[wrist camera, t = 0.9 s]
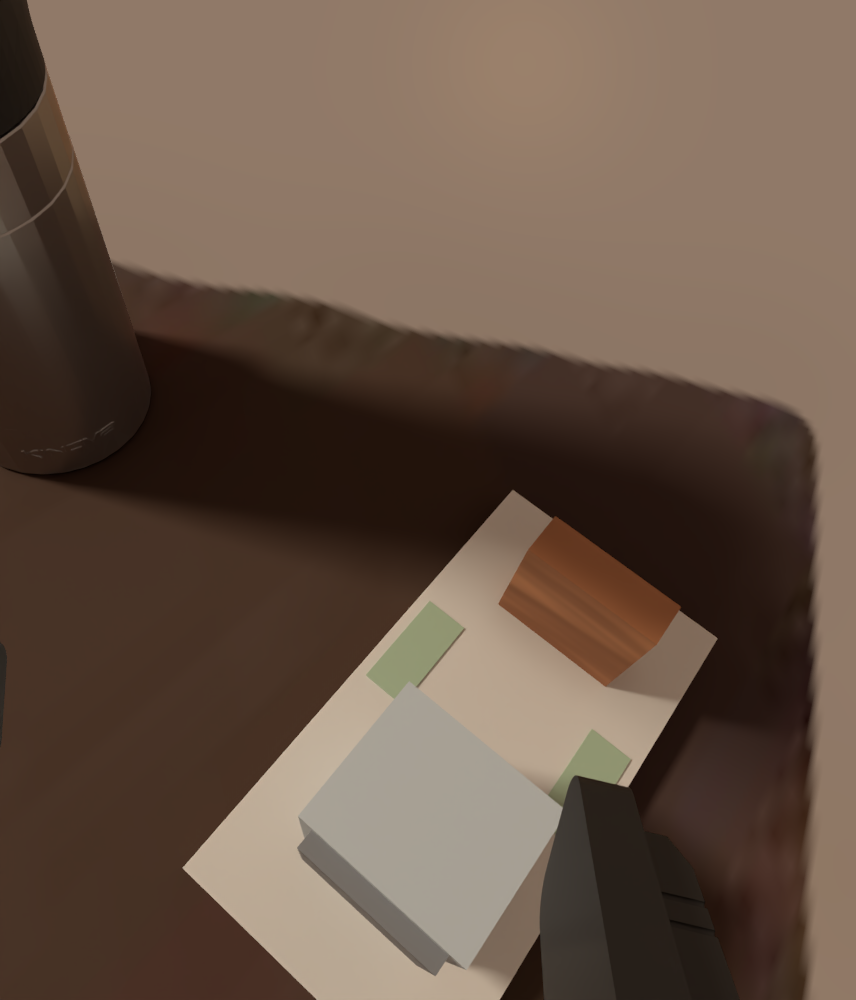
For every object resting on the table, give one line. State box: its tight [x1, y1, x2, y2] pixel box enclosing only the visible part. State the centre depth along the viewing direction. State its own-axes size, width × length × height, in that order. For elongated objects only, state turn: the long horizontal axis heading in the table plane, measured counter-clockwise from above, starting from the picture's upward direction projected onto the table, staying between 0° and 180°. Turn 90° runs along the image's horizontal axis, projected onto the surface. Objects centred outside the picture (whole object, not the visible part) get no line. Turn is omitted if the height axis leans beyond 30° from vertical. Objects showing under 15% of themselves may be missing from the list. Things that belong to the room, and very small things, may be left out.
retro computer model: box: [297, 681, 563, 976], centre depth 25 cm, size 6×6×9 cm
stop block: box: [498, 516, 681, 687], centre depth 32 cm, size 2×6×6 cm, turn 52°
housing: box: [183, 490, 718, 1000], centre depth 32 cm, size 22×12×2 cm, turn 142°
